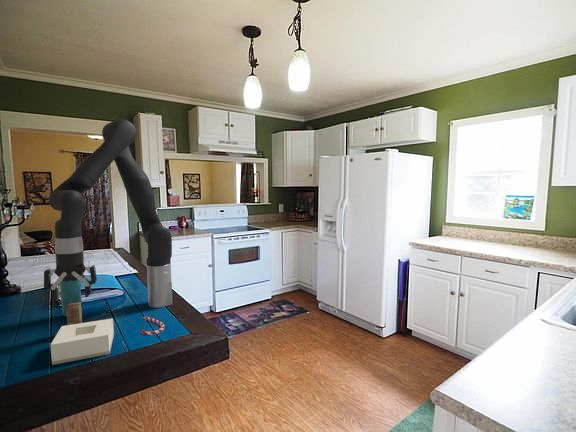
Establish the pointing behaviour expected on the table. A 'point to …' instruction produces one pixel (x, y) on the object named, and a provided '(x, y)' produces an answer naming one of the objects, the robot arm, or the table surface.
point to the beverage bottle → (70, 294)
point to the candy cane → (156, 323)
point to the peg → (74, 313)
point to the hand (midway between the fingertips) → (72, 298)
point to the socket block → (82, 341)
